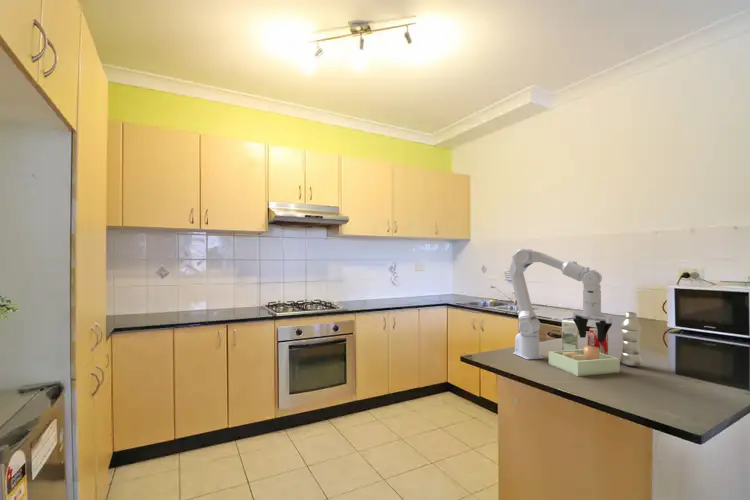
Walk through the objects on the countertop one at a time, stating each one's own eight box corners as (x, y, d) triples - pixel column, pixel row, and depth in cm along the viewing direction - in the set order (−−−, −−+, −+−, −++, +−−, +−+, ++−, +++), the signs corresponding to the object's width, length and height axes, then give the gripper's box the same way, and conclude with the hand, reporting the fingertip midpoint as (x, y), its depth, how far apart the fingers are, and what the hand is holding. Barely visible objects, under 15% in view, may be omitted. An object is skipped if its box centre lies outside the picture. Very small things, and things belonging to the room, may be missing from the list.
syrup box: (578, 355, 153) (578, 320, 153) (577, 358, 148) (577, 322, 148) (562, 352, 156) (562, 318, 156) (561, 356, 151) (561, 320, 151)
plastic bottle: (634, 363, 142) (634, 311, 142) (645, 368, 135) (645, 314, 135) (616, 362, 142) (616, 311, 142) (626, 367, 135) (626, 313, 136)
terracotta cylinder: (580, 365, 136) (580, 346, 137) (589, 363, 138) (589, 345, 139) (593, 368, 132) (593, 349, 132) (602, 367, 134) (602, 348, 134)
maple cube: (562, 366, 135) (562, 352, 135) (573, 365, 136) (573, 351, 136) (573, 370, 130) (573, 356, 130) (584, 369, 131) (584, 355, 131)
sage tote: (548, 364, 139) (548, 351, 139) (587, 361, 143) (587, 348, 143) (577, 376, 125) (577, 361, 125) (619, 372, 130) (619, 358, 130)
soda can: (607, 362, 142) (607, 331, 142) (586, 359, 146) (586, 329, 146) (609, 358, 148) (609, 329, 148) (588, 355, 152) (588, 326, 152)
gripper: (567, 300, 141) (567, 336, 141) (602, 305, 127) (602, 344, 127) (580, 300, 143) (580, 334, 143) (616, 305, 130) (616, 343, 130)
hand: (591, 339), depth 135 cm, fingers open, 7 cm apart
